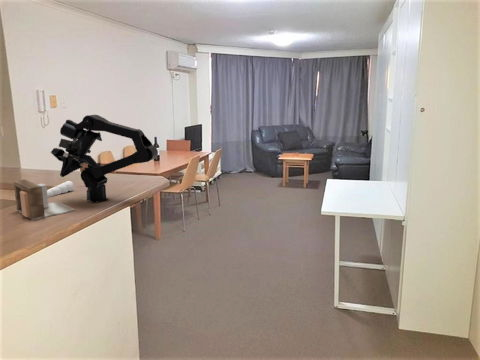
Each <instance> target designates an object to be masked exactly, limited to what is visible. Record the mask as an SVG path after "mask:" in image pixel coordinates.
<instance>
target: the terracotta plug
mask: <svg viewBox="0 0 480 360" xmlns="http://www.w3.org/2000/svg"><path fill="white" fill-rule="evenodd" d="M42 195H43V192H42ZM20 199H21V207H22V216H23V217H25V218H28V217H31V214H30V205H29V196H28V192H27V191H20ZM43 205H44V202H43ZM44 214H45V211H44Z"/></svg>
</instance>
